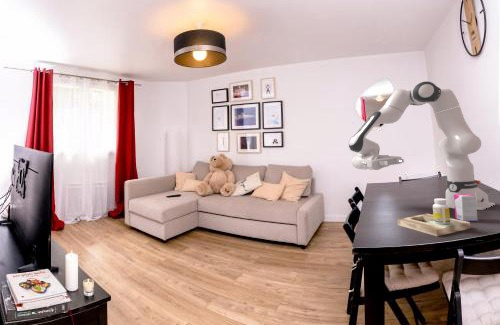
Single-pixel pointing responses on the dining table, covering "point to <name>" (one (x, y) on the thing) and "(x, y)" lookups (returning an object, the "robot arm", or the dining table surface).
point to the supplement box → (465, 207)
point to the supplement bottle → (441, 211)
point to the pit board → (433, 225)
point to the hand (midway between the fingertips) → (395, 161)
